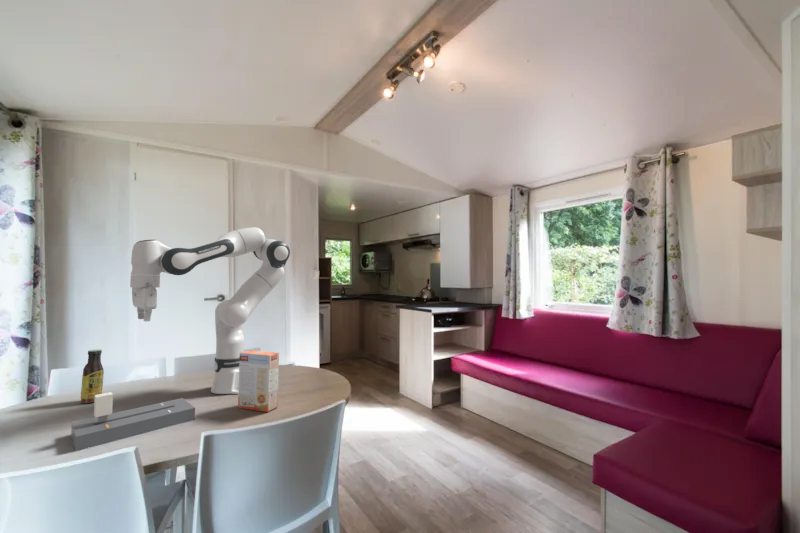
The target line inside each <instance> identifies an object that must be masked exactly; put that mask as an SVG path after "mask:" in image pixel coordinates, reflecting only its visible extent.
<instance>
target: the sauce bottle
mask: <svg viewBox="0 0 800 533" xmlns="http://www.w3.org/2000/svg"><path fill="white" fill-rule="evenodd" d="M102 351H103V350H102V349H90V350H88V352H87V355H88V357H87V359H88V360H87V363H86V364H85V366H84V367H83V371H82V376H81V377H82V379H81V388H80V403H81V404H91V403H92V404H93V403H94V398H95V395H98V394H103V384H104V373H105V372H104V371H105V370H104V368H103V364H102V361H101V355H102Z"/></svg>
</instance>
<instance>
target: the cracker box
mask: <svg viewBox="0 0 800 533" xmlns="http://www.w3.org/2000/svg"><path fill="white" fill-rule="evenodd" d="M279 358H280V352H273V351H265V350H244V352H241V353H240V359H239V392H238V394H237V395H238V396H237V397H238V398H237V408H239V409H245V410H252V411H258V412H263V413H264V412H265V413H269V412H271V411H272V410H275V409H277V408H278V405H279V404H278V402H279V400H278V399H279V366H280V365H279V360H280V359H279Z"/></svg>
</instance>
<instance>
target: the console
mask: <svg viewBox="0 0 800 533" xmlns="http://www.w3.org/2000/svg"><path fill="white" fill-rule="evenodd" d="M195 419H196V407H195V406H194V405H193V404H191V403H190V402H189V401H187V400H186V399H185V398H183V397H181V398H176V399H172V400H166V401H163V402H158V403H153V404H149V405H145V406H140V407H139V406H138V407H135V408H131V409H130V408H129V409H126V410H121V411H116V412H112V414H109V415H108V419H107V421H104V422H98V417H95V416H94V417H91V418H90V417H89V418H85V419H81V420H75V421H72V422H71V428H70V429H71V430H70V436H71V440H72V444H73V448H74V450H75V452H77V451H82V450H86V449H89V448H93V447H96V446H99V445H103V444H107V443H111V442H116V441H118V440H119V441H120V440H123V439H126V438H130V437H133V436H137V435H142V434H146V433H149V432H152V431H153V432H154V431H157V430H160V429H164V428H168V427H171V426H175V425H179V424H184V423H187V422H192V421H194V420H195ZM88 447H89V448H88ZM85 448H86V449H85ZM81 449H82V450H81Z"/></svg>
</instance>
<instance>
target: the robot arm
mask: <svg viewBox="0 0 800 533" xmlns="http://www.w3.org/2000/svg"><path fill="white" fill-rule="evenodd" d="M252 252H253V255H254V257H256V258H257V259H258V260H260V261H262V264H261V266H260V267H259V268H258V269H257V270H256V272H253V274H252V275H251V276H250V277H249V278H248V279H247V280H246V281H245V282H243V283H242V284H241V285H240V286H239V288H238V290H237V291H236V292H235V293H234V294H233V296H232V297H231V298H230V299H225V300H223V301H221V302H220V303H218V304H217V306H216V307H215V310H214V315H215V317H214V319H215V321H214V322H215V335H216V337H215V338H216V339H215V340H216V343H215V348H216V349H215V358H214V362H213V367H214V370H213V371H214V374H213V376H214V378H213V382H212V385H211V387H210V392H211V393H212V394H215V395H217V394H218V395H224V394H225V395H227V394H231V395H238V392H239V359H240V353H241V352H245V336H244V329H243V324H245V323H246V321H247V320H248V319H249V317H251V315H252V314H253V312H254V311H255V310H256V308H257V307H258V306H259V304H260V303H261V302H262V301H263V300H264V299H265V298H266V297H267V295H269V293H271V292H272V291H273V289H274V288H275V287H277V285H278V284H279V283H280V281H281V280H282V279H283V277H284V275H285V269H284V267H285V265H286V263H287V261H288V260H289V258H290V255H291V249H290V247H289V245H287V244H286V243H285V242H283V241H282V240H277V239H274V238H273V239H272V238H271V239H270V238H266V235H265V233H264V231H263V230H262V229H260V227H256V226H253V227H244V228H239V229H238V228H237V229H234V230H232V231H229V232H226V233H224V234H222V235H220V236H219V237H218V238H217V239H216V240H214V241H213V242H211V243H207V244H205V245H200V246H196V247H193V248H185V247H174V248H173V247H170V246H168V245H165V244H163V243H162V242H161V241H159V240H157V239H144V240H139V241H137V242H136V243H134V244H133V246H132V250H131V257H130V258H131V259H130V260H131V262H130V263H131V264H130V265H131V267H132V268H131V272H130V281H129V286H130V288H131V297H132V300H131V301H132V305H133V307H136V312H137V319H138V320H143V321H144V322H150V321H151V316H152V313H153V310H156V309H157V307H158V291H157V288H160V286H161V285H160V284H161V273H166V274H167V275H173V276H183V275H186V274H188V273H189V272H191V271H192V270H193V269H194V268H195V267H197V266H198V265H200V264H204V263H206V262H209V261H212V260H216V259H218V258H235V257H239V256H244V255H246V254H249V253H252Z"/></svg>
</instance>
